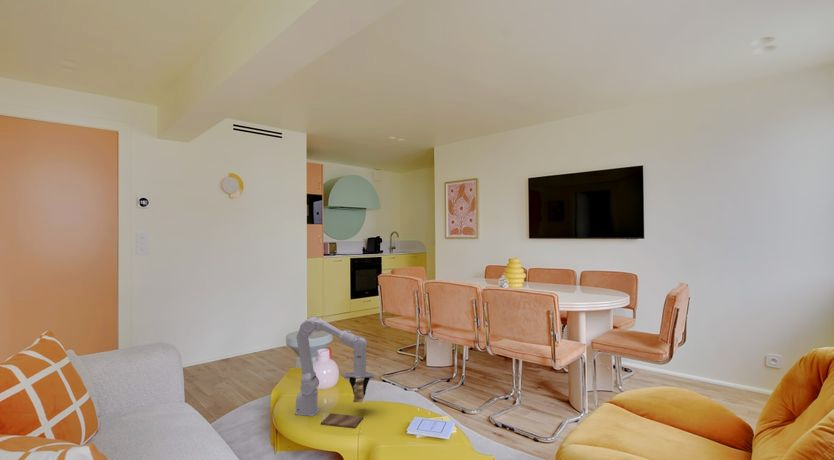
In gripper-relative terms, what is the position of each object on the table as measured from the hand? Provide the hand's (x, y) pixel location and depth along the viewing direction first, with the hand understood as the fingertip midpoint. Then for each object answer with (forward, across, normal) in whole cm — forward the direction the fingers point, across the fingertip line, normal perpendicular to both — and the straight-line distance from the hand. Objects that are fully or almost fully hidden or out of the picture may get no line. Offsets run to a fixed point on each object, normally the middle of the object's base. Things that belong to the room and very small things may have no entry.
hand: (359, 393), depth 186 cm
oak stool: (+2, 0, 0) cm, 2 cm away
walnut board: (+9, -6, -9) cm, 14 cm away
